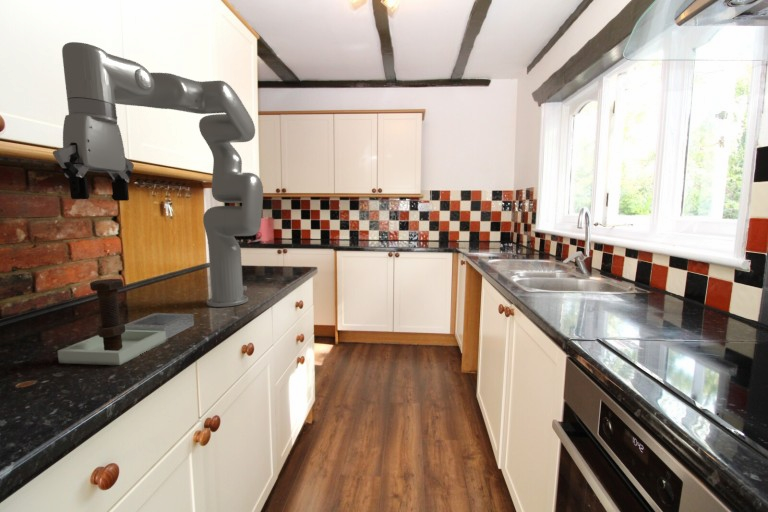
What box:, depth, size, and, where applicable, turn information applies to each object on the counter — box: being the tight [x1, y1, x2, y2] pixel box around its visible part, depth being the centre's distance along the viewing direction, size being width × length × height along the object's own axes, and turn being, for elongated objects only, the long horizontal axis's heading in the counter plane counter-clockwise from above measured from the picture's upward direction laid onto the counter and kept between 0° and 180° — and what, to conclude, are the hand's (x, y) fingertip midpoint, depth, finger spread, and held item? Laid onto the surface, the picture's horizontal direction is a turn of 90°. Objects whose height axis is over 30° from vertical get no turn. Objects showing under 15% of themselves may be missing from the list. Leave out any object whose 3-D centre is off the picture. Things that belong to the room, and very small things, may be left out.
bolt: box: [89, 278, 125, 351], centre depth 75 cm, size 6×5×15 cm
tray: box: [57, 330, 167, 366], centre depth 76 cm, size 13×13×2 cm
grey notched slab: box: [124, 312, 195, 340], centre depth 89 cm, size 11×11×3 cm
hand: (102, 199), depth 73 cm, fingers open, 9 cm apart
